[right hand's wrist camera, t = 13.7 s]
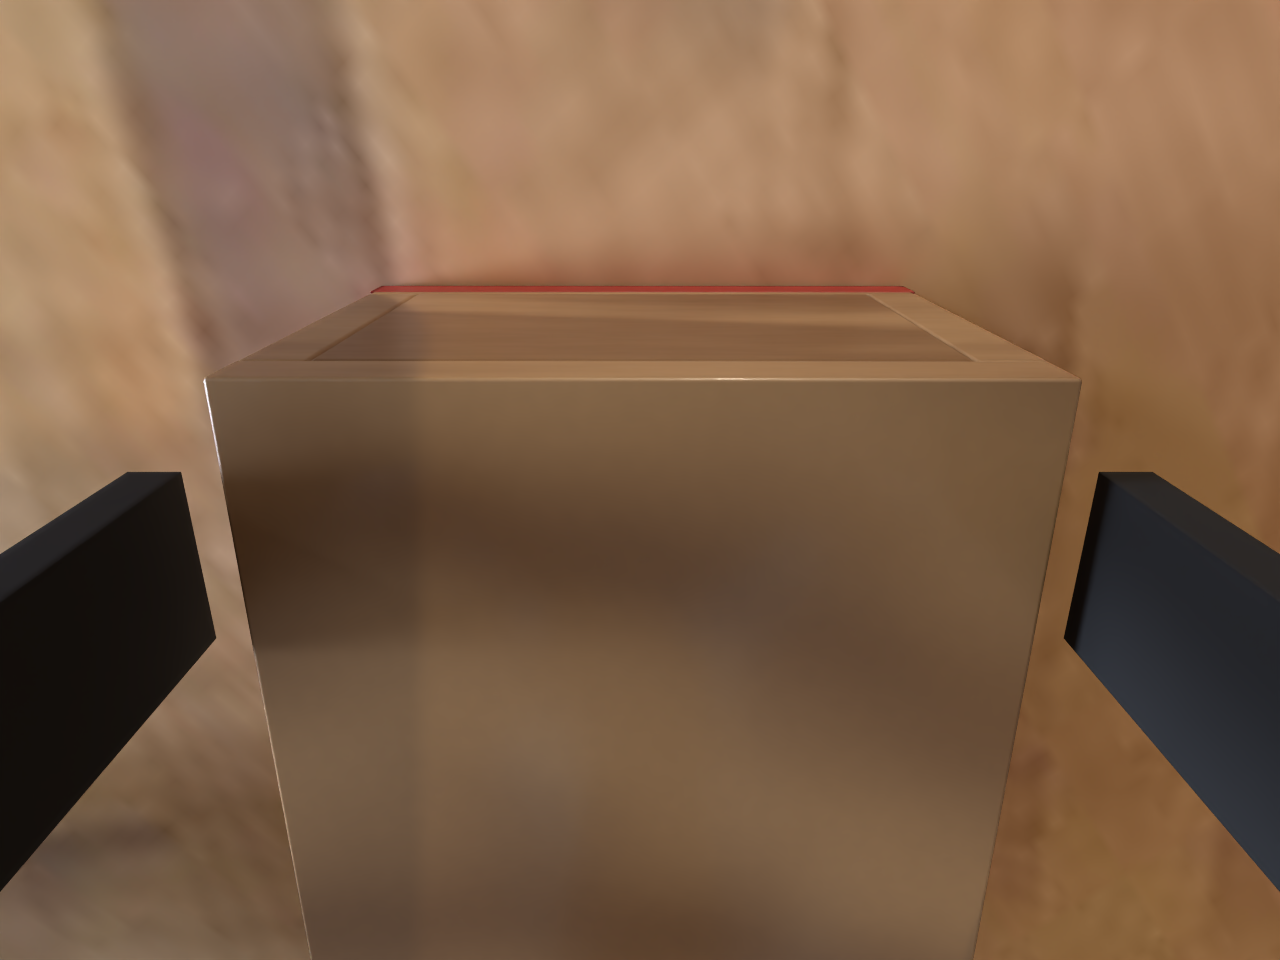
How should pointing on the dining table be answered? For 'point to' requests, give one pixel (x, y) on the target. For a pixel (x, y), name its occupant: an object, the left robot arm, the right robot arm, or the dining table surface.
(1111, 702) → the dining table surface
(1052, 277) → the dining table surface
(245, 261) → the dining table surface
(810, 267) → the dining table surface
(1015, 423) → the cabinet
